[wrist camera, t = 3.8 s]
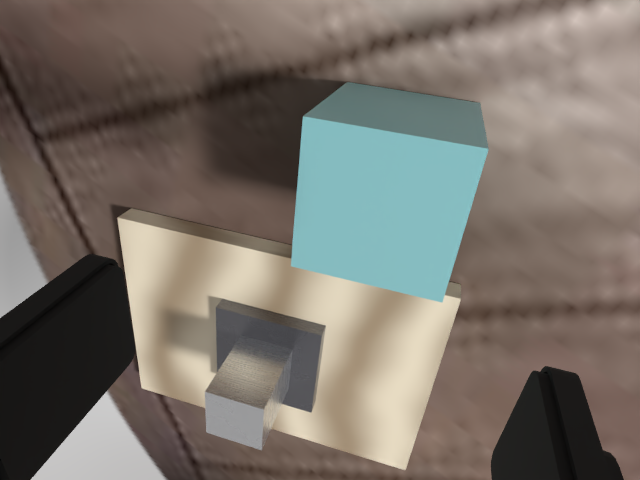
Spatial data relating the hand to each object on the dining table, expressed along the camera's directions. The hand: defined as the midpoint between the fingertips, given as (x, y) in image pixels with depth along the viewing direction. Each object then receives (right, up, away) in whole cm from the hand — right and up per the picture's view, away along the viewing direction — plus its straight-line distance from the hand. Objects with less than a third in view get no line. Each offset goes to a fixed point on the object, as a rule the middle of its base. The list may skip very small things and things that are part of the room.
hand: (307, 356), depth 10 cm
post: (-3, -5, +22) cm, 23 cm away
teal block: (+4, +7, +14) cm, 16 cm away
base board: (-3, -5, +22) cm, 23 cm away
